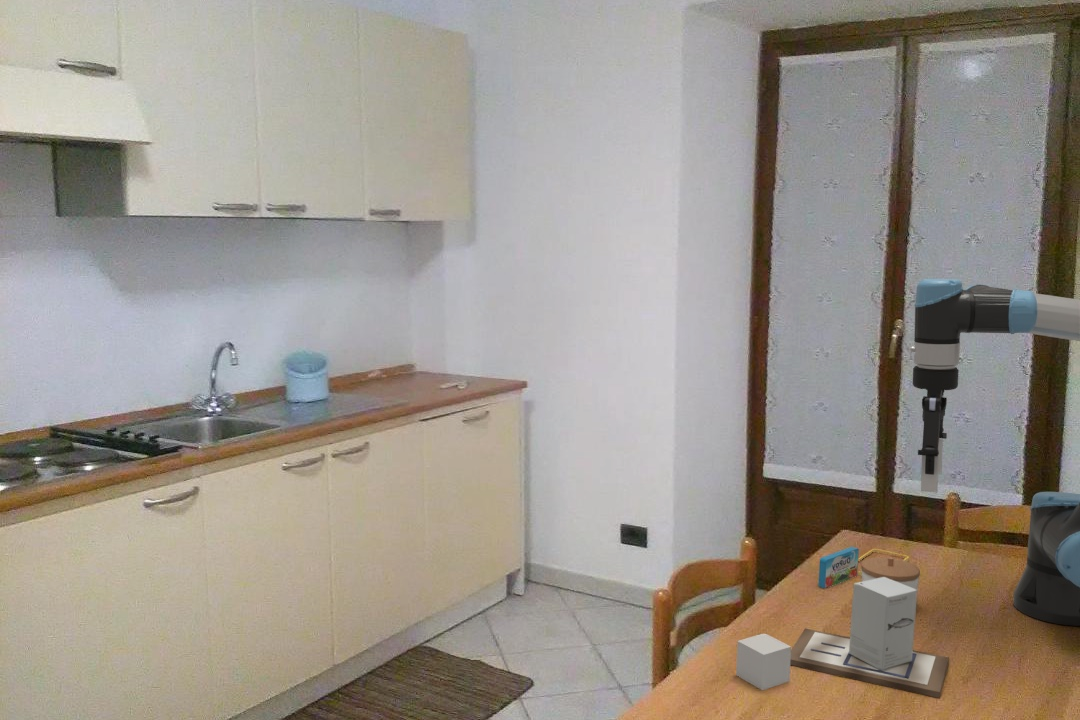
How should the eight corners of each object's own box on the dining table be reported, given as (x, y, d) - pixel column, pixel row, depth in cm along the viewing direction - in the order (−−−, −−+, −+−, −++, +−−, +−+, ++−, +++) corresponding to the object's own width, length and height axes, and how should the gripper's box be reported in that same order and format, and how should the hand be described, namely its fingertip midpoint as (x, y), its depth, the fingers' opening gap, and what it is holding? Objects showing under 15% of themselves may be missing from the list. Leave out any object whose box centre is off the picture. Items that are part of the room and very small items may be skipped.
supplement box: (881, 671, 157) (886, 597, 155) (847, 653, 163) (851, 581, 161) (913, 662, 160) (918, 589, 158) (878, 645, 167) (883, 574, 165)
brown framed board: (948, 663, 163) (949, 655, 163) (939, 698, 151) (940, 690, 151) (804, 633, 174) (805, 626, 174) (785, 663, 162) (785, 656, 162)
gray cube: (735, 675, 158) (737, 640, 157) (762, 667, 161) (764, 633, 160) (762, 690, 153) (763, 654, 152) (789, 681, 156) (791, 646, 155)
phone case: (909, 561, 214) (910, 556, 214) (881, 583, 201) (882, 577, 201) (873, 553, 219) (873, 548, 219) (843, 573, 206) (843, 567, 206)
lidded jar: (908, 595, 193) (911, 550, 192) (924, 616, 183) (927, 569, 181) (853, 592, 194) (856, 547, 193) (866, 614, 184) (869, 566, 182)
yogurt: (824, 589, 196) (826, 560, 195) (818, 587, 197) (819, 558, 196) (857, 576, 204) (858, 548, 203) (850, 574, 205) (852, 546, 204)
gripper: (918, 356, 185) (914, 464, 188) (907, 374, 163) (903, 497, 165) (961, 358, 182) (956, 468, 185) (956, 376, 159) (951, 502, 162)
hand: (931, 482), depth 175 cm, fingers open, 13 cm apart
